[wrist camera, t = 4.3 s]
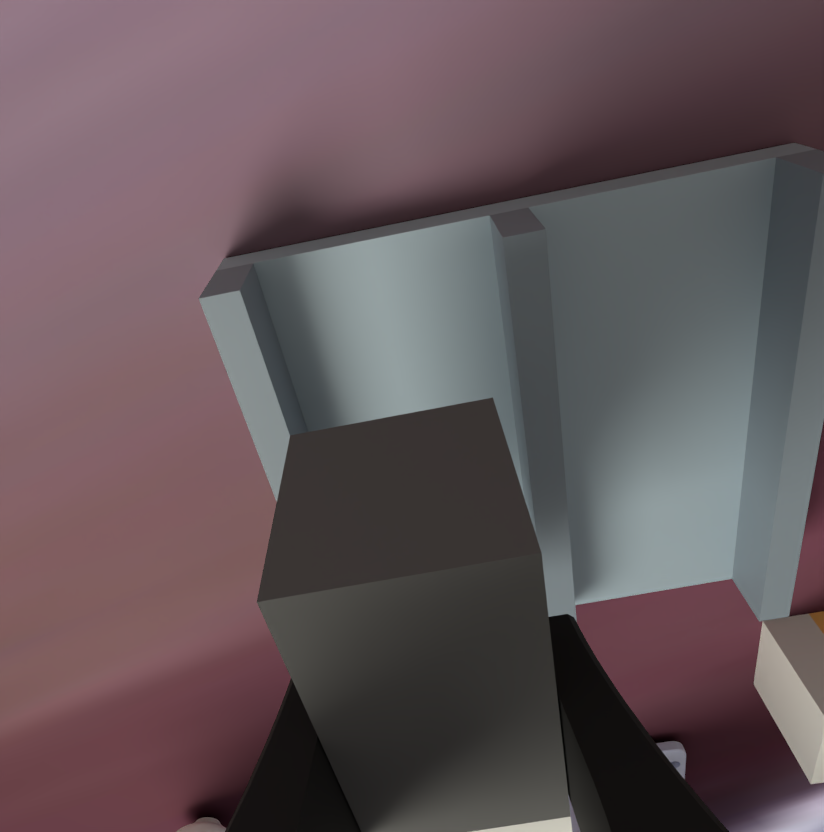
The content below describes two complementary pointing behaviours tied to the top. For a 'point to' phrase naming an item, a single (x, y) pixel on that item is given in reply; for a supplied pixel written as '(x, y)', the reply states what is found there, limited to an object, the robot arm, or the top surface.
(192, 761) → the top surface
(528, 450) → the slot board
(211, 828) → the lightbulb
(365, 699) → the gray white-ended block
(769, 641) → the tall orange block
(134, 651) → the top surface
